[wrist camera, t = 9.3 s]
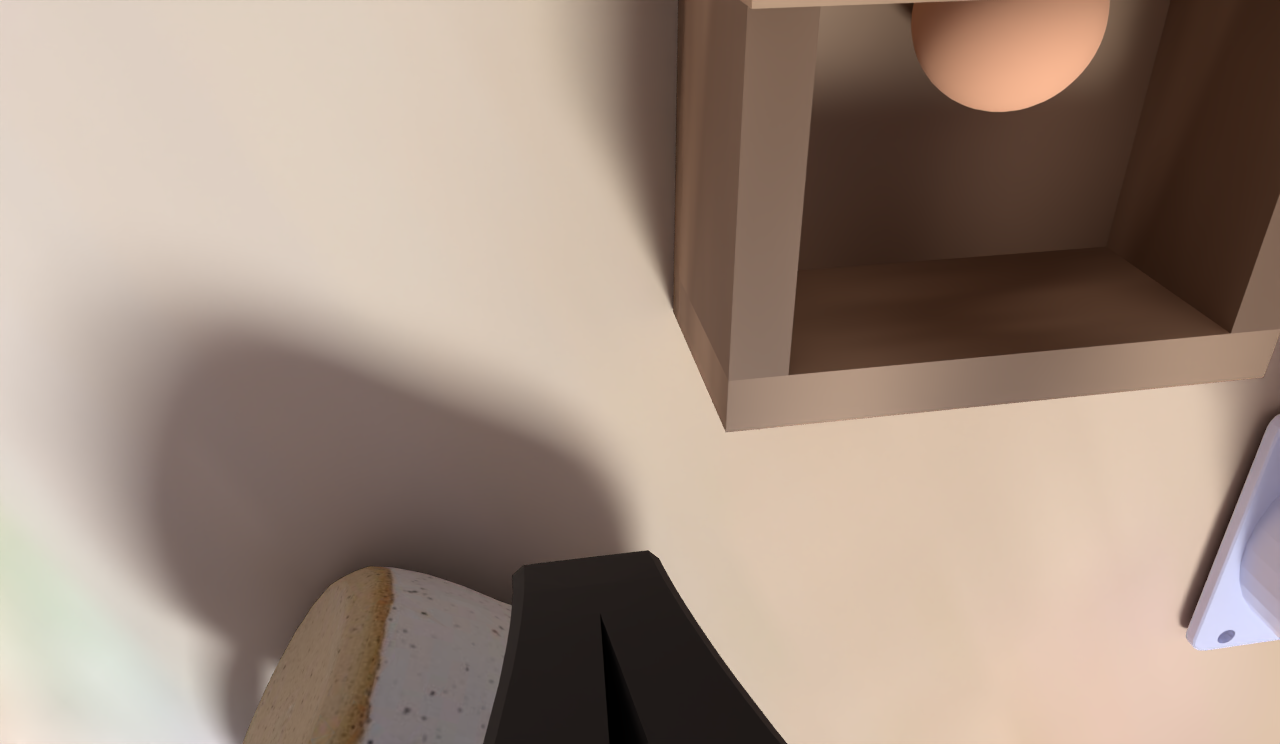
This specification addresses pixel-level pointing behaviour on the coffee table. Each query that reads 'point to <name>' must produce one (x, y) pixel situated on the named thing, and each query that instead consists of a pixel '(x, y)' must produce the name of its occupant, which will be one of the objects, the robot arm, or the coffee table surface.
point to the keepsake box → (971, 214)
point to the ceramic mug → (387, 665)
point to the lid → (824, 2)
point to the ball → (1006, 48)
